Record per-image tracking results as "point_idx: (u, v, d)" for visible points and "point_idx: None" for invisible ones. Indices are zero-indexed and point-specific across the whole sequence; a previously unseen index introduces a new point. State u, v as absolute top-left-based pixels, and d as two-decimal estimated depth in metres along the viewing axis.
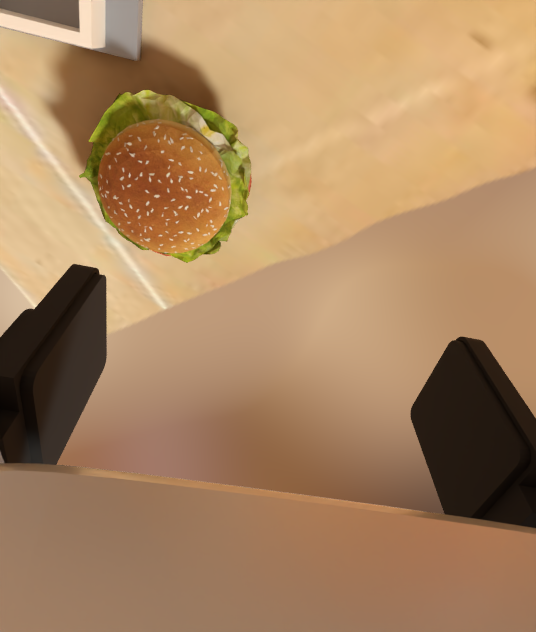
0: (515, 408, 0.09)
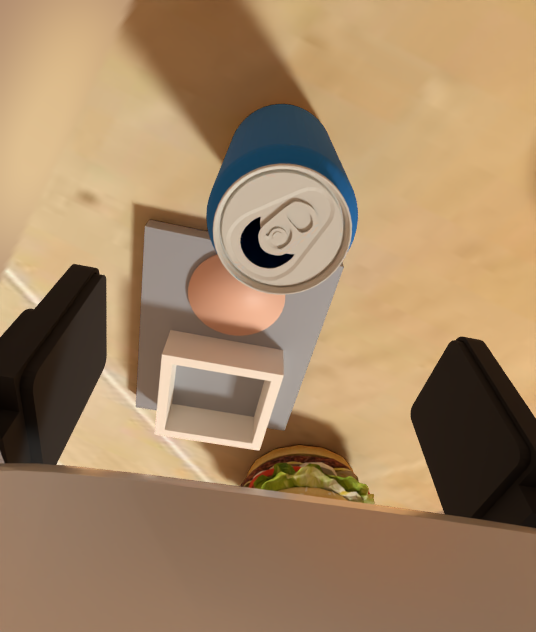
0: (515, 408, 0.09)
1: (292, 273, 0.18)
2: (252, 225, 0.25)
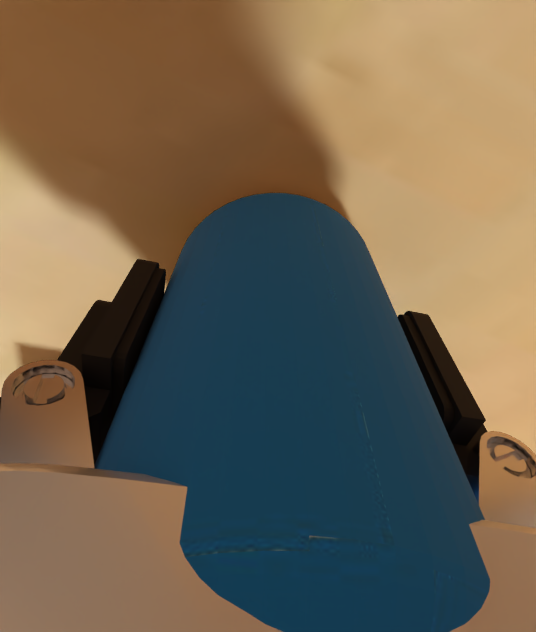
0: (446, 373, 0.09)
1: None
2: None
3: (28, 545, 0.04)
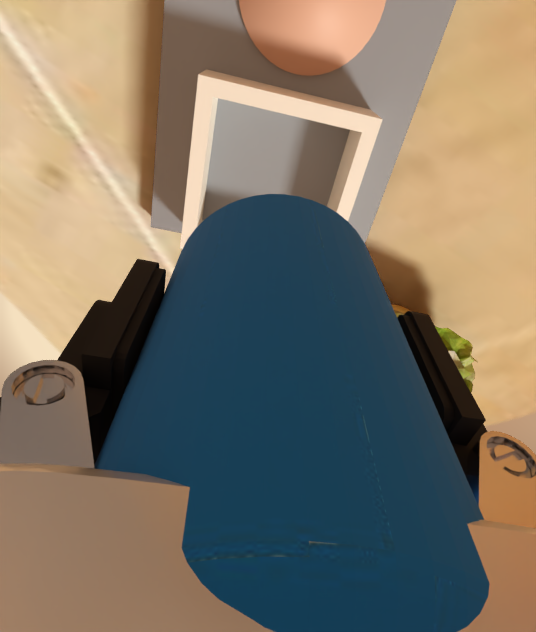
0: (447, 373, 0.09)
1: None
2: None
3: (28, 545, 0.04)
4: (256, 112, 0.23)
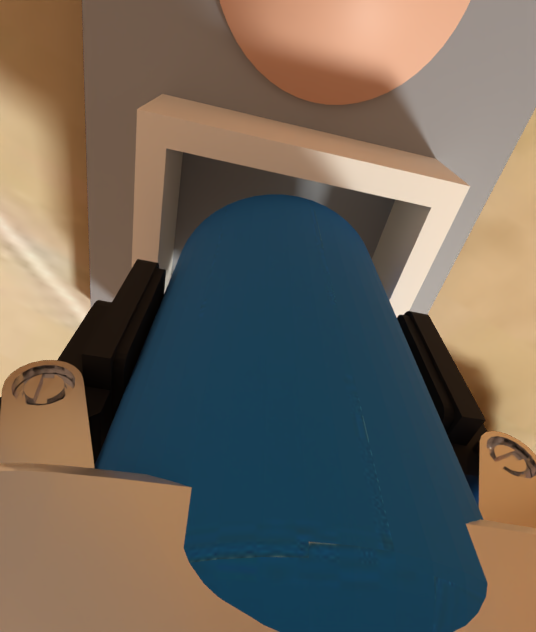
0: (446, 373, 0.09)
1: None
2: None
3: (28, 545, 0.04)
4: None
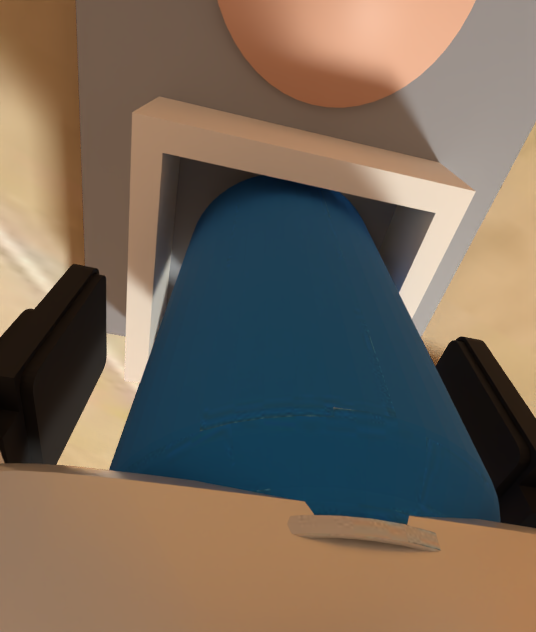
0: (515, 408, 0.09)
1: None
2: None
3: (28, 545, 0.04)
4: None
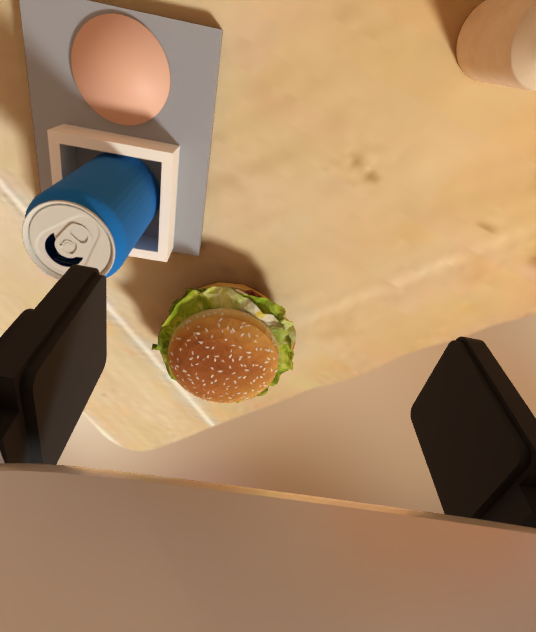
0: (515, 408, 0.09)
1: None
2: None
3: (28, 545, 0.04)
4: None
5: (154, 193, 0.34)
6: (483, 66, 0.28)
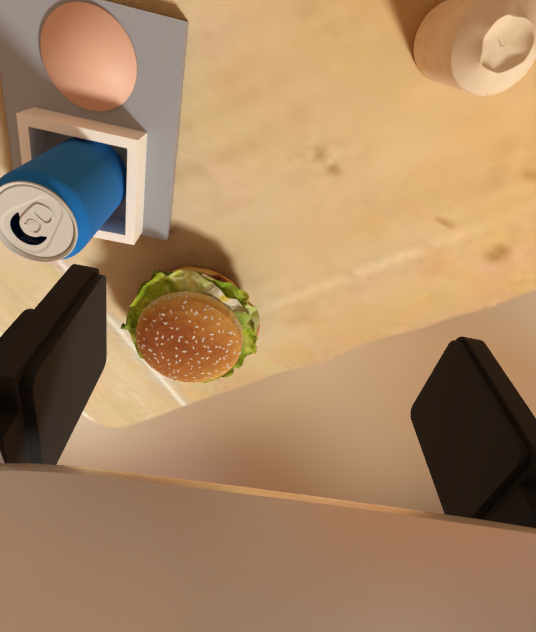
0: (515, 408, 0.09)
1: (49, 249, 0.29)
2: None
3: (28, 545, 0.04)
4: None
5: (122, 178, 0.35)
6: (432, 67, 0.30)
